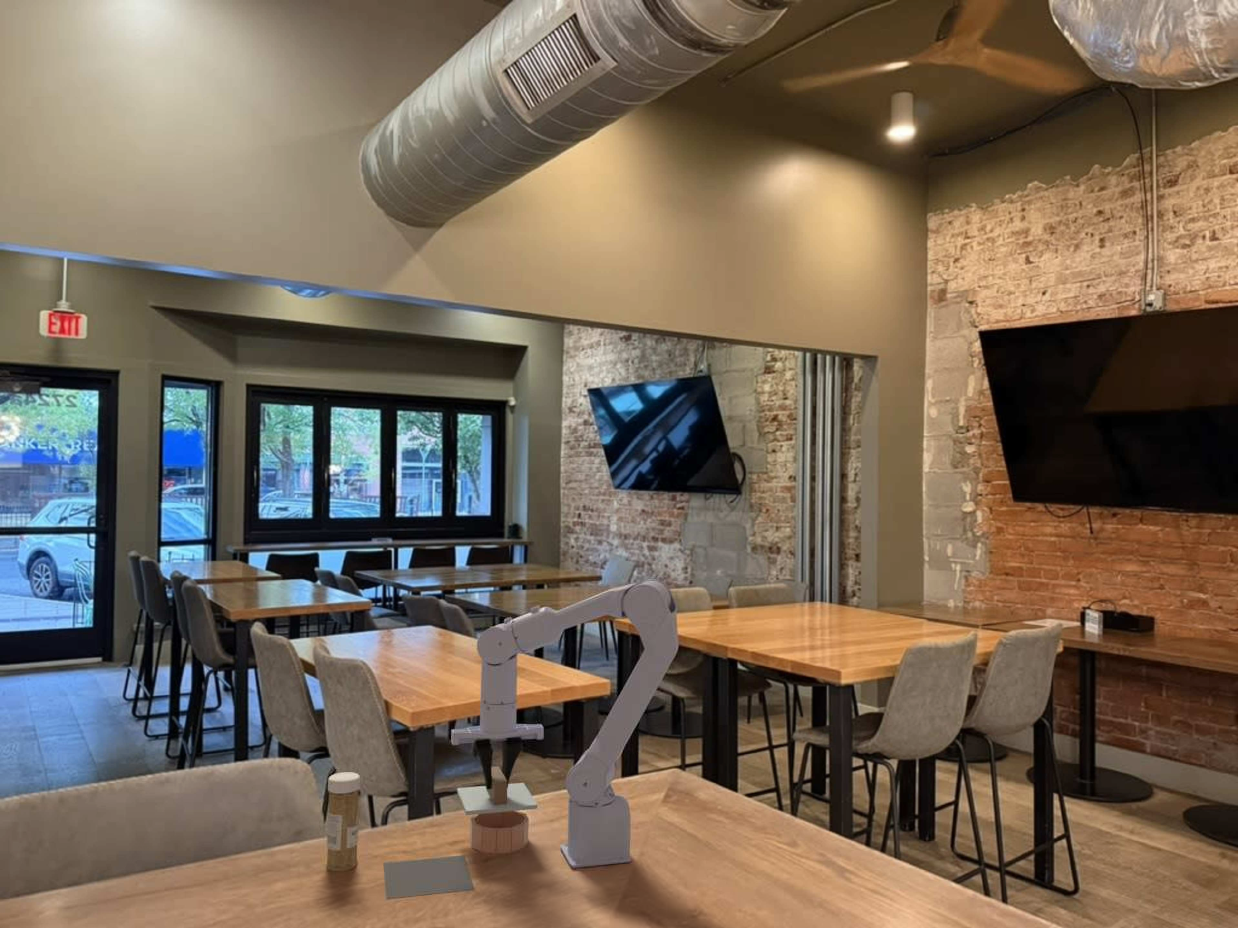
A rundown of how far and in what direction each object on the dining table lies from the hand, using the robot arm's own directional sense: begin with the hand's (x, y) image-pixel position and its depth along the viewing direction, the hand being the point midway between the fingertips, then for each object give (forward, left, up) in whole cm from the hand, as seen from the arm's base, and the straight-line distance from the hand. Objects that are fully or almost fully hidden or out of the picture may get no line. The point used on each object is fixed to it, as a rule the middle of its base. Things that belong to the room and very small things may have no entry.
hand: (496, 786), depth 141 cm
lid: (0, 0, -2) cm, 2 cm away
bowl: (-1, -1, -9) cm, 9 cm away
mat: (+11, +9, -9) cm, 17 cm away
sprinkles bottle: (+23, +2, -10) cm, 25 cm away
